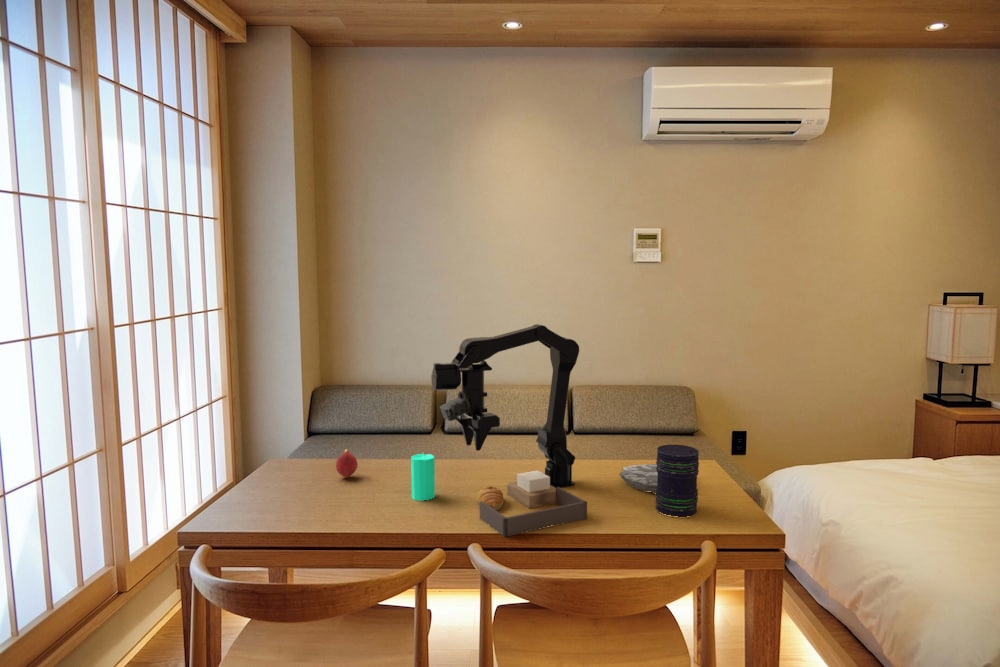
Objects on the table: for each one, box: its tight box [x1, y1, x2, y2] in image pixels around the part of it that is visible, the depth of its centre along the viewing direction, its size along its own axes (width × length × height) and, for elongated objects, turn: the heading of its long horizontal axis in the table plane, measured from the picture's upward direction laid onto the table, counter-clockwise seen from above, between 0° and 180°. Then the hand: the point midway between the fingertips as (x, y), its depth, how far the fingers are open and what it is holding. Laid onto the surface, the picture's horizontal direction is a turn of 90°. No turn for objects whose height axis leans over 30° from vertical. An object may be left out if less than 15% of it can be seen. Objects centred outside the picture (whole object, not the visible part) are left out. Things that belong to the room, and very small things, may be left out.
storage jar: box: [655, 444, 700, 517], centre depth 163 cm, size 10×10×15 cm
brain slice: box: [619, 463, 658, 494], centre depth 183 cm, size 20×17×3 cm
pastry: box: [475, 485, 505, 511], centre depth 167 cm, size 9×7×4 cm
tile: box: [516, 469, 550, 492], centre depth 171 cm, size 6×6×3 cm
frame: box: [479, 487, 588, 538], centre depth 158 cm, size 22×12×4 cm, turn 118°
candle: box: [410, 453, 436, 502], centre depth 172 cm, size 6×6×12 cm
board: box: [506, 481, 557, 509], centre depth 172 cm, size 9×11×3 cm
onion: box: [335, 449, 358, 479], centre depth 187 cm, size 6×6×8 cm
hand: (473, 447), depth 175 cm, fingers open, 5 cm apart
